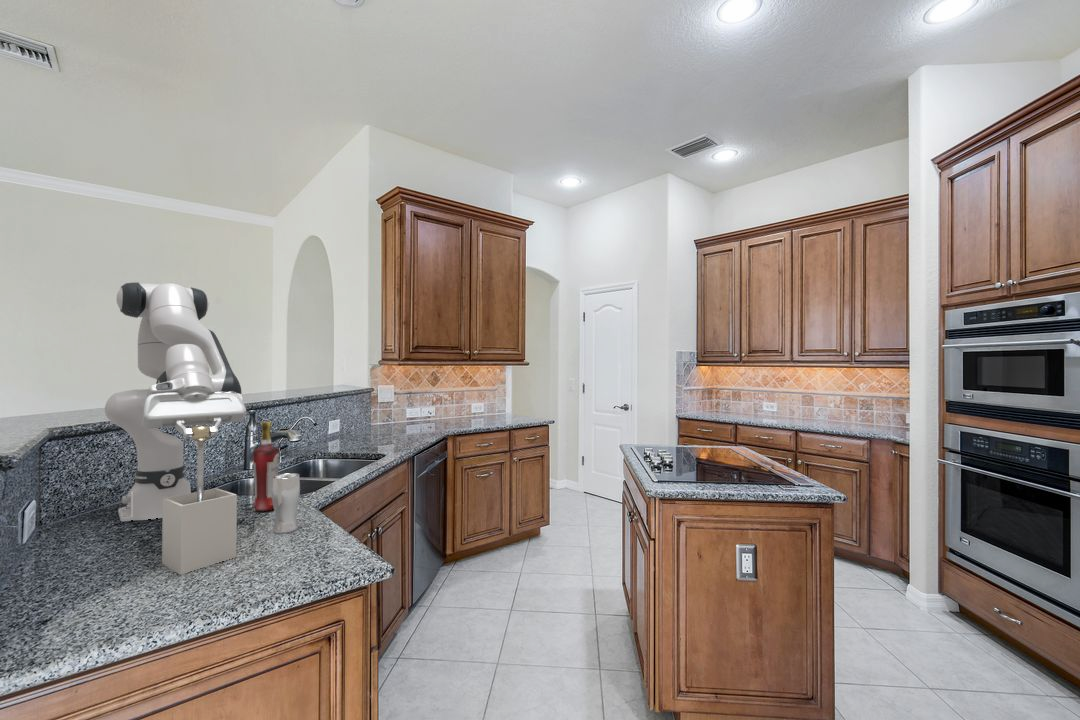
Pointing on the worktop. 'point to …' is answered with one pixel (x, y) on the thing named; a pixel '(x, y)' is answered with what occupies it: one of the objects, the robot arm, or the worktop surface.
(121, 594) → the worktop surface
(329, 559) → the worktop surface
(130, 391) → the robot arm
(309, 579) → the worktop surface
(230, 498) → the beige open box
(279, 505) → the beer glass
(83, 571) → the worktop surface
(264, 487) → the liquor
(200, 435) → the plunger
